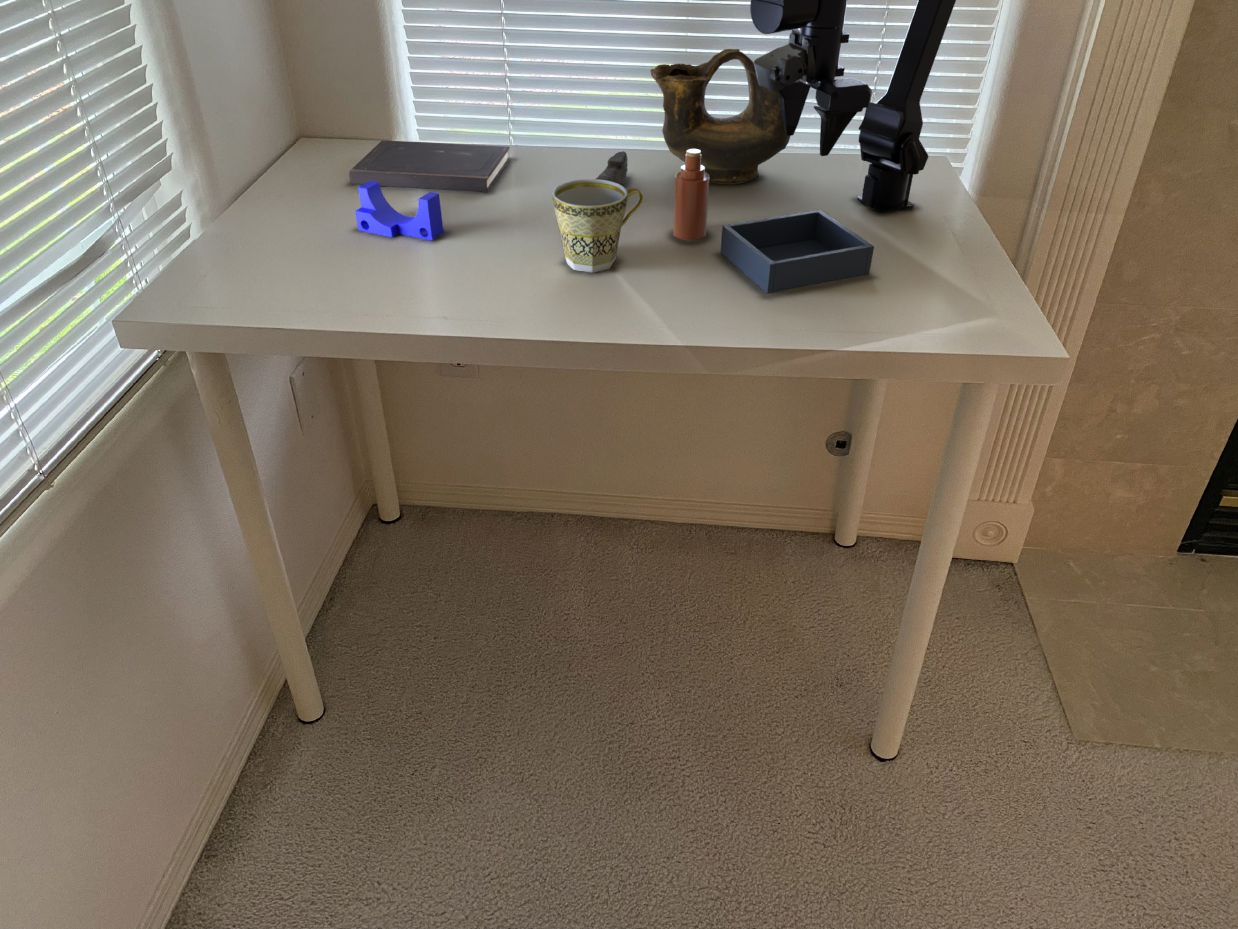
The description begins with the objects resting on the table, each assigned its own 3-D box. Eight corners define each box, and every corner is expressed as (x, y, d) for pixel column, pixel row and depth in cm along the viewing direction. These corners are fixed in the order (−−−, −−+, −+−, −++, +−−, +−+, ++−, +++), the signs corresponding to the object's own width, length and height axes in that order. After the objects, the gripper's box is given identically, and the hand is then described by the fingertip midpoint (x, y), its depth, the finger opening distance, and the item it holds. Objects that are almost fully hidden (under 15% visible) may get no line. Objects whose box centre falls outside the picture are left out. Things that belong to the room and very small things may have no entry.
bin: (816, 239, 136) (820, 209, 134) (868, 277, 126) (874, 246, 124) (720, 255, 132) (722, 225, 129) (766, 296, 122) (770, 264, 119)
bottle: (707, 230, 139) (712, 146, 131) (704, 244, 135) (709, 157, 127) (675, 228, 139) (678, 144, 132) (671, 241, 136) (674, 155, 128)
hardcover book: (383, 153, 166) (381, 140, 164) (510, 159, 163) (509, 146, 162) (350, 185, 153) (348, 171, 152) (487, 193, 151) (486, 179, 149)
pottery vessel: (653, 189, 152) (656, 60, 140) (644, 166, 161) (647, 42, 149) (803, 183, 154) (819, 56, 142) (787, 161, 163) (800, 39, 151)
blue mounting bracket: (358, 230, 139) (351, 190, 135) (377, 219, 142) (370, 180, 138) (426, 244, 135) (421, 204, 131) (443, 233, 138) (439, 193, 134)
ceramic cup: (573, 283, 124) (571, 211, 118) (543, 255, 132) (540, 186, 126) (658, 264, 129) (661, 194, 123) (625, 238, 136) (625, 170, 130)
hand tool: (599, 219, 142) (599, 189, 139) (575, 215, 143) (574, 185, 141) (641, 178, 156) (641, 150, 154) (618, 174, 158) (618, 147, 155)
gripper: (732, 13, 125) (724, 131, 135) (804, 45, 111) (789, 174, 121) (804, 7, 129) (791, 123, 138) (883, 37, 115) (863, 164, 124)
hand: (806, 145), depth 130 cm, fingers open, 9 cm apart
